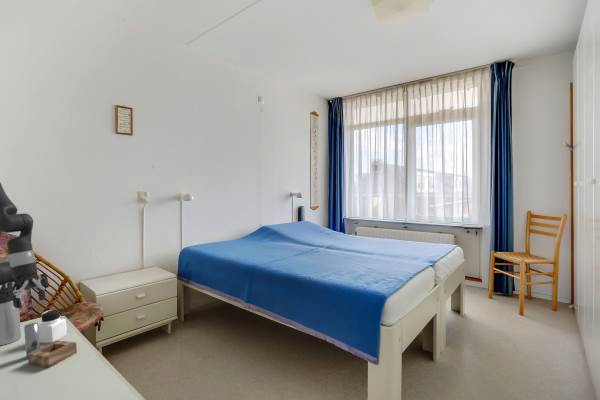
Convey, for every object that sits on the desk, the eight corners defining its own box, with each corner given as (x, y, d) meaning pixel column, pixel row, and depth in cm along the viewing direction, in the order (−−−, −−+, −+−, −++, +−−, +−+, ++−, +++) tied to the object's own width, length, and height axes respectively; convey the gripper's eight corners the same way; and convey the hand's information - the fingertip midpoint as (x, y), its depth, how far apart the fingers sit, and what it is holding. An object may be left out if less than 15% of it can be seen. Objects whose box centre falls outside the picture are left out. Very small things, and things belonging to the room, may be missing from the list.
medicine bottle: (67, 335, 133) (65, 307, 132) (52, 343, 125) (50, 314, 125) (52, 334, 133) (50, 307, 133) (36, 343, 126) (34, 314, 126)
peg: (23, 358, 114) (21, 326, 114) (35, 352, 118) (33, 322, 118) (31, 359, 113) (29, 327, 113) (43, 353, 117) (40, 322, 117)
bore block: (28, 364, 110) (27, 353, 110) (57, 350, 119) (56, 340, 119) (49, 367, 107) (48, 356, 107) (76, 352, 117) (76, 342, 117)
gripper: (35, 260, 129) (42, 298, 128) (-6, 269, 115) (2, 311, 115) (48, 258, 127) (56, 296, 127) (9, 266, 113) (17, 309, 113)
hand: (30, 303), depth 121 cm, fingers open, 8 cm apart
